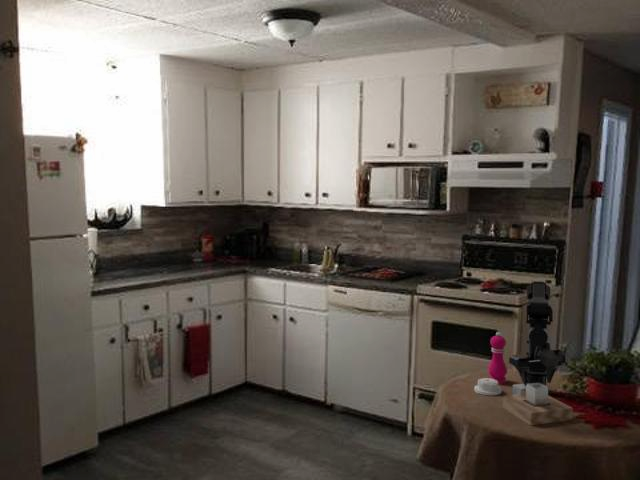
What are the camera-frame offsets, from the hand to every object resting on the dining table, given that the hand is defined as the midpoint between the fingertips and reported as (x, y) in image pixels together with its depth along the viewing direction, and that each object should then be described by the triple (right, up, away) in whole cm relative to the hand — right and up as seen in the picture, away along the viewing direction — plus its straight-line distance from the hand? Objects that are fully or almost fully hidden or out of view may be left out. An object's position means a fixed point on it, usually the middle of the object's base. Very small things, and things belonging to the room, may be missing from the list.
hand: (537, 384), depth 205 cm
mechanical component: (-10, -9, +25) cm, 28 cm away
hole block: (0, -10, +1) cm, 11 cm away
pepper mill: (-3, -8, +36) cm, 37 cm away
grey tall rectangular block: (0, -11, +1) cm, 11 cm away
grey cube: (0, -9, +16) cm, 18 cm away
